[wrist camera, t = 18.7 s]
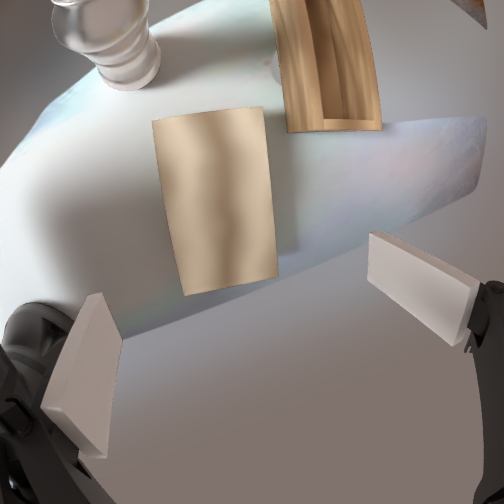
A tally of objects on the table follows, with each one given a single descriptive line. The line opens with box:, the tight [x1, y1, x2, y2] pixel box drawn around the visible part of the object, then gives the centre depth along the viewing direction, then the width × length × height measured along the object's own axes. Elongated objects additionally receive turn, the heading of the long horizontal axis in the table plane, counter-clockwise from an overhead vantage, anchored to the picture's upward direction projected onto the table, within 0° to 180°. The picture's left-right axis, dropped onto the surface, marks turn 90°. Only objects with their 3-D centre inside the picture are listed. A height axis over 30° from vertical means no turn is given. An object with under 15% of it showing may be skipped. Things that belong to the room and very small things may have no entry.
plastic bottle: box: [51, 0, 162, 91], centre depth 14 cm, size 6×7×20 cm
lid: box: [152, 107, 279, 296], centre depth 26 cm, size 10×17×2 cm, turn 7°
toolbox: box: [269, 0, 382, 133], centre depth 21 cm, size 10×22×12 cm, turn 6°
